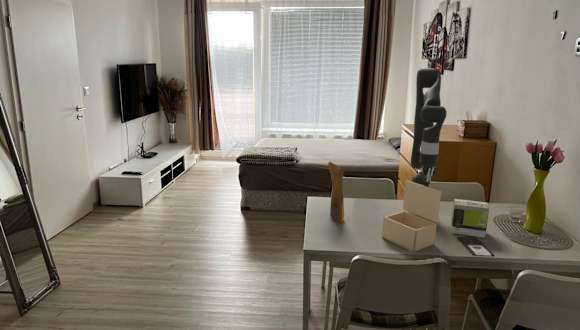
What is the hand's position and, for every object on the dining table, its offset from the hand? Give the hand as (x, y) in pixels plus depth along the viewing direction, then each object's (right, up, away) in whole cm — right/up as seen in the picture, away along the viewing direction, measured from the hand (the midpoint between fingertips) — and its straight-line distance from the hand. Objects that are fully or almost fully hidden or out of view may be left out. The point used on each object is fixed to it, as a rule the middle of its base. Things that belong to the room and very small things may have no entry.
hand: (425, 189), depth 191 cm
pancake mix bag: (-38, -16, +26) cm, 49 cm away
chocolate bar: (+21, -26, -2) cm, 33 cm away
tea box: (+24, -22, +13) cm, 35 cm away
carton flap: (-2, -5, 0) cm, 6 cm away
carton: (-8, -23, +1) cm, 25 cm away
